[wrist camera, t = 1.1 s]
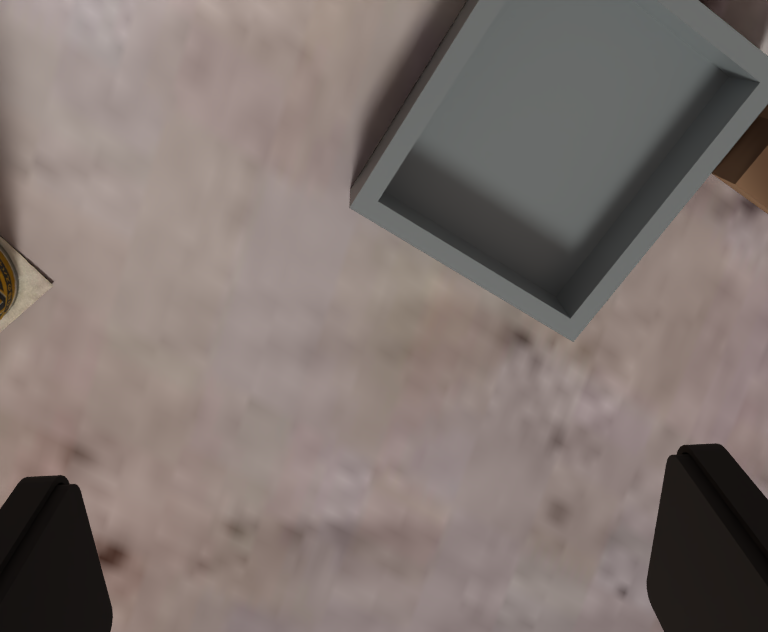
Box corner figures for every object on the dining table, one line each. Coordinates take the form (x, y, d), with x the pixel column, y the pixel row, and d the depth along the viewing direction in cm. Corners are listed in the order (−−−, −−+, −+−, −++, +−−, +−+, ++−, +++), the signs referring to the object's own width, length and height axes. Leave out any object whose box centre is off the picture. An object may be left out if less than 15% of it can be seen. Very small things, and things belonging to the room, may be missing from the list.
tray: (532, -105, 31) (552, -118, 28) (751, 68, 35) (791, 75, 32) (349, 190, 37) (349, 207, 33) (556, 315, 40) (573, 341, 37)
